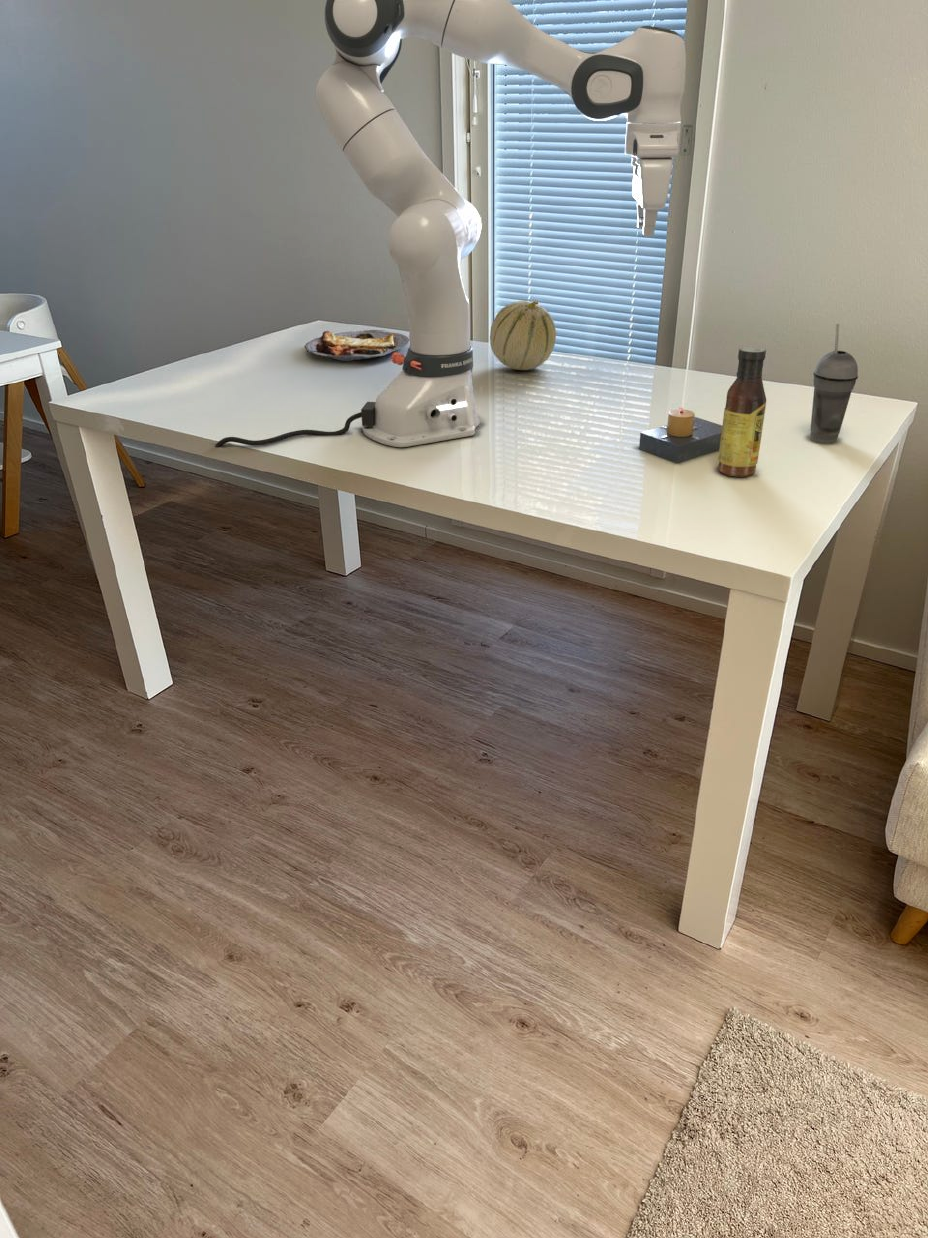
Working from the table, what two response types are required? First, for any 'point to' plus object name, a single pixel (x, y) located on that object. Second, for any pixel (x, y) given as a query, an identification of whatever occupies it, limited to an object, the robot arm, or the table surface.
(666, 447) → the grey dial panel
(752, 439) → the sauce bottle
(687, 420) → the tan cylinder
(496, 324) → the cantaloupe
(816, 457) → the table surface
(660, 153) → the robot arm
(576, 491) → the table surface
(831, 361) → the beverage cup
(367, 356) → the food plate
